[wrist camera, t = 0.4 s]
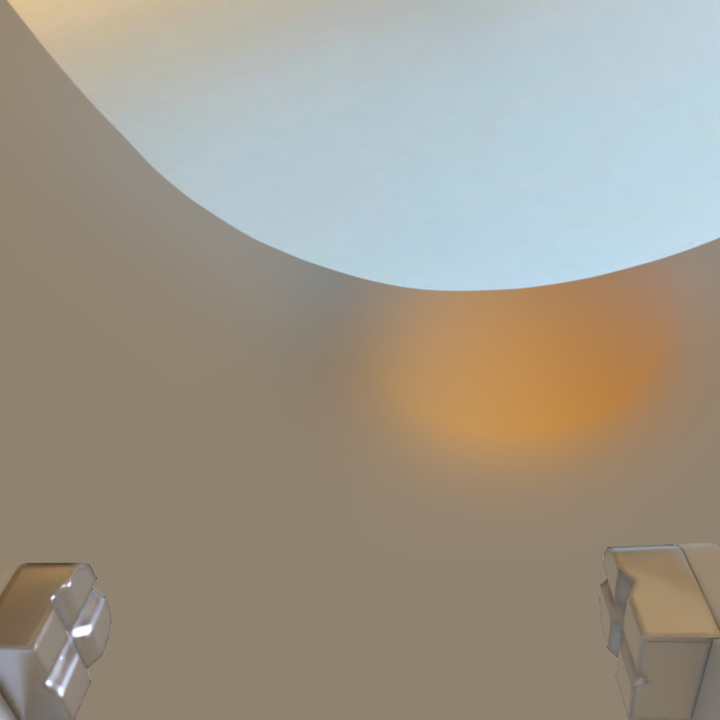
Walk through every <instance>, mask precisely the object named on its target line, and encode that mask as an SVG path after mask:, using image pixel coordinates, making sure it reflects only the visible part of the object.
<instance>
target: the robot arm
mask: <svg viewBox="0 0 720 720" xmlns="http://www.w3.org/2000/svg"><path fill="white" fill-rule="evenodd" d="M603 566H604V570H605V573H606V576H607V579H606V580H605V581H604V582H603V583H602V584H601V585H600V597H599V605H600V618H601V624H602V629H603V633H604V637H605V641H606V644H607V648H608V649H609V650H610V651H611V652H612V653H613V654H614V655H615V656H616V657H618V663H617V671H616V679H617V683H618V686H619V689H620V693H621V696H622V699H623V703H624V706H625V709H626V713H627V716H628V719H629V720H720V549H719V548H718V547H717V546H715V545H714V544H713V543H701V544H677V545H674V544H664V545H639V546H615V547H607V549H606V551H605V553H604V560H603ZM96 579H97V577H96V575H95V573H94V571H93V569H92V567H91V565H90V564H87V563H11V564H10V563H7V564H6V563H3V564H0V720H75V718H76V715H77V713H78V711H79V708H80V706H81V704H82V701H83V699H84V697H85V695H86V692H87V690H88V687H89V685H90V683H91V680H90V677H89V673H88V670H87V669H88V668H89V667H90V666H91V665H92V664H93V663H94V662H96V661H97V660H98V659H99V658H100V657H101V656H102V655H103V652H104V650H105V647H106V645H107V642H108V640H109V633H110V627H111V613H110V607H109V604H108V602H107V600H106V597H105V596H104V595H102V594H101V593H100V592H98V591H97V590H95V589H94V588H92V587H93V585H94V583H95V581H96Z"/></svg>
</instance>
